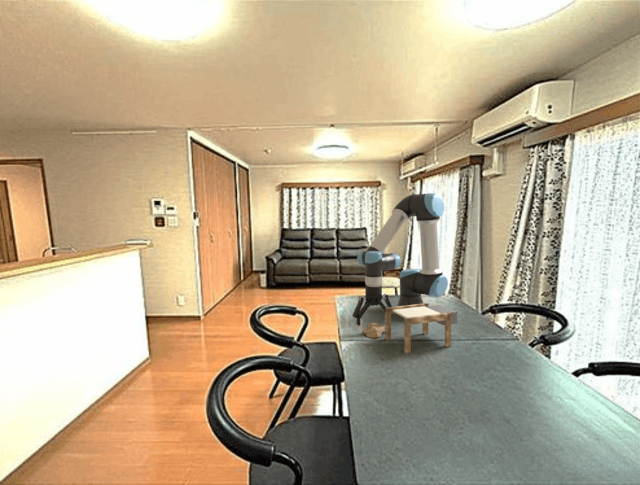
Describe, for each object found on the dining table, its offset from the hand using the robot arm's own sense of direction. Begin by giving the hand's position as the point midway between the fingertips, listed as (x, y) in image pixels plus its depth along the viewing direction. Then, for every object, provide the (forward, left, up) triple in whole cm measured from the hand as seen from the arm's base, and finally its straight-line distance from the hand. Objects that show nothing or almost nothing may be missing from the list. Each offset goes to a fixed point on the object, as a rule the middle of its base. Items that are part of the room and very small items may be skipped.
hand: (373, 330), depth 165 cm
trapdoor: (-16, +17, +7) cm, 24 cm away
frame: (-12, +17, -1) cm, 21 cm away
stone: (0, +1, -2) cm, 2 cm away
